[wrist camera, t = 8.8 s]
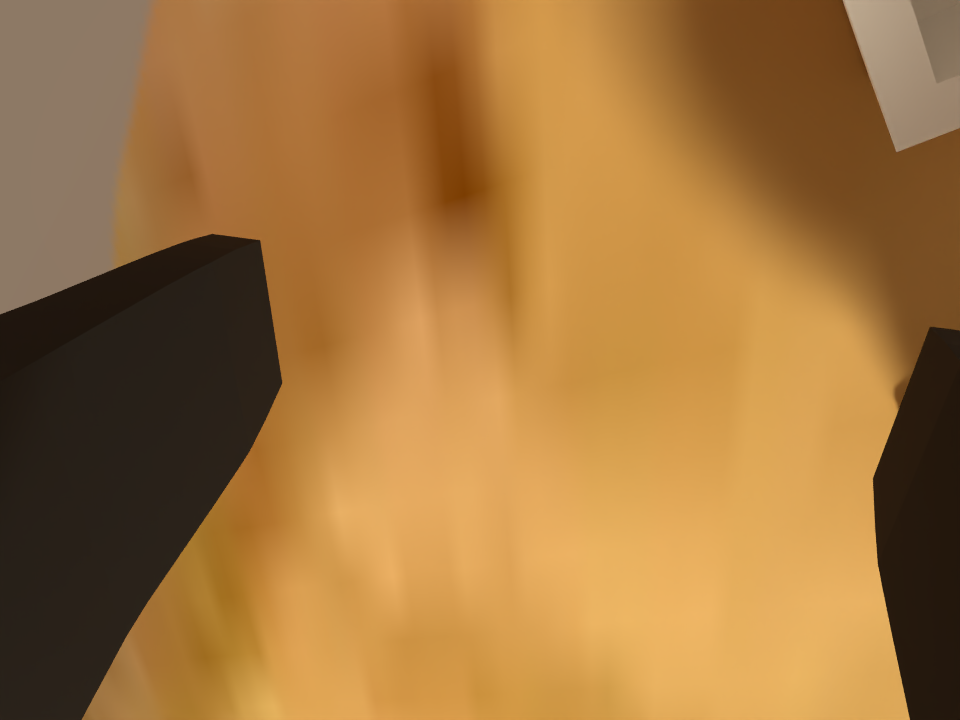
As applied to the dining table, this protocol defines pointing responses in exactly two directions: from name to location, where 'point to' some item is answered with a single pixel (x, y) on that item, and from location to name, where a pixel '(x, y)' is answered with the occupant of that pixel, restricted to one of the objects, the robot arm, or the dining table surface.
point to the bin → (911, 64)
